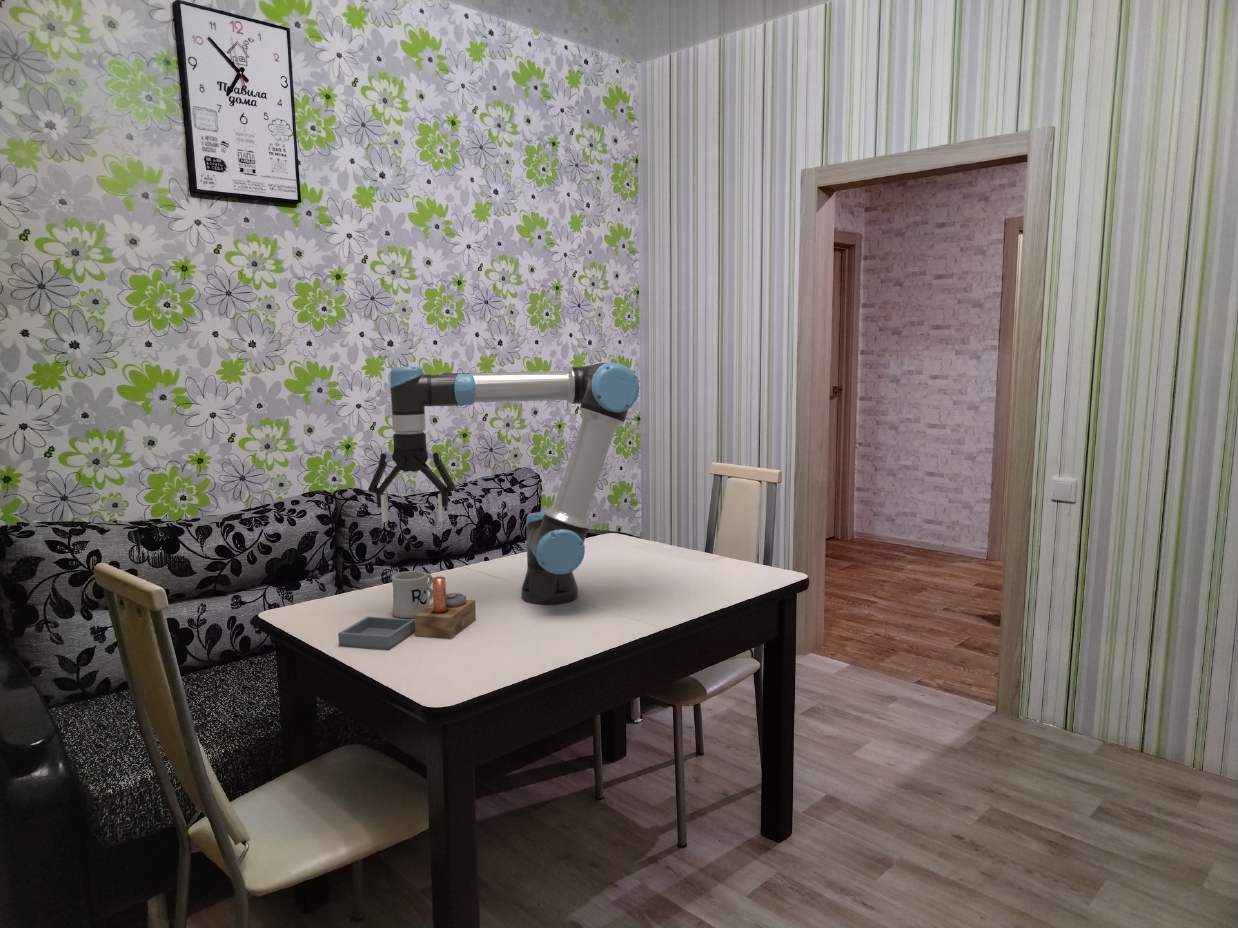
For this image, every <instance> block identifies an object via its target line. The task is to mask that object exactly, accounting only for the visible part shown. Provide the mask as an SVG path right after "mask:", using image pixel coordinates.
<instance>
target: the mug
mask: <svg viewBox="0 0 1238 928" xmlns="http://www.w3.org/2000/svg"><path fill="white" fill-rule="evenodd" d="M390 578H391V583H392V589H393V590H392V591H393V593H392V594H393V599H392V600H393V601H392V615H393V616H395V617H396V618H398V619H415V617H414V615H416V614H417V613H419V612H420V611H422V610H423V609H425V608H427V607H428V606H430V601H431V600H433V588H431V586H432V578H434V577H433V576H432V574H431V573H427V572H425V571H421V570H408V571H401V572H396V573H394V574H393V575H391V577H390ZM428 593H429V595H428Z"/></svg>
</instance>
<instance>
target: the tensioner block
mask: <svg viewBox="0 0 1238 928" xmlns="http://www.w3.org/2000/svg"><path fill="white" fill-rule="evenodd" d="M446 609H447V612H446V613H445V614H434V612H433V603H431V604H429V606H428V607H427V608H425V609H423V610H422V611H420V612H419V613H417V614H416V615H414V617H415V618H414V620H415V633H414V637H419V638H435V639H444V640H445V639H448V640H452V639H453V638H455V637H456V636H457V635H458V634H460V633H461V632H462V631H463V630H465V629H466V628H467V627H469V626H470V625H472V624H473V623H474V622H475V621H476V620H477V619H476V618H477V617H476V616H477V615H476V600H474V599H467V596H466V595H465V594H463V593H454V592H453V593H452V592H450V593H446Z"/></svg>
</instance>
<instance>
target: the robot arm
mask: <svg viewBox="0 0 1238 928" xmlns="http://www.w3.org/2000/svg"><path fill="white" fill-rule="evenodd" d="M423 369H424V368H423V367H421V366H395V367H393V368H392V369H390V374H389V376H390V385H389V387H390V399H391V403H390V404H391V416H392V417H391V419H392V421H391V423H392V424H391V425H392V431H393V432H394V434H393V435H392V441H393V453H388V452H387V451H385V452H382V453H380V456H379V464H378V466H377V468H376V471H375V473H374V475H373V477H372V479H371V481H370V484H369V487H368V492H370V493H373V494H375V495H376V505H377V508H379V509H381V510H380V511H381V523H387V522H388V521H389V506H388V504H389V503H388V501H389V500H388V493H385V491H386V490H387V488H388V487H389V486H390V484H392V482H393V481H394V480H395V478H397V476H398V474H399V473H400V472H401V471H402V472H404V473H408V472H414V473H416V472H419V471H420V472H421V474H423V475H424V476H425V477H426V478H427V479H428V480H429V481H430V483H432V484H433V486H435V488H437V490H438V491H439V493H438V494H437V502H438V503H437V506H438V507H437V508H438V521H439V522H443V521H445V519H446V518H445V515H446V514H445V508H447V507H448V505H449V493H450V492H452V491H454V490H455V489H456V485H455V483H454V481H453V479H452V478H451V476H450V473H449V472H448V470H447V468H446V466H445V464H444V463H443V461H442V456H441V455H442V454H441V452H439V451H435V452H431V453H429V452H428V450H427V435H426V433H425V432H424V431H425V430H426V413H425V411H426V410H425V409H426V408H425V407H452V406H454V407H458V406H459V407H462V406H463V407H465V406H472V405H474V404H475V403H497V402H500V403H501V402H507V403H508V402H542V401H548V402H549V401H550V402H551V401H567V402H568V404H570V405H576V404H577V405H578V404H579V405H580V406H579V410H580V412H581V414H582V420H581V422H580V426H579V429H578V431H577V435H576V438H575V441H574V444H573V447H572V450H571V453H570V456H569V459H568V461H567V465H566V468H565V471H564V474H563V476H562V480H561V483H560V485H559V488H558V492H557V494H556V497H555V500H554V504H553V506H552V508H550V509H547V510H546V511H540V512H539V511H538V512H532V513H529V514H527V516H526V523H525V526H526V561H527V566H526V567H527V568H526V571H525V573H526V574H525V577H524V579H523V583H522V586H521V592H520V593H521V599H522V600H523V601H525V602H528V603H531V604H537V605H538V604H540V605H556V604H562V603H567V602H568V603H569V602H571V601H574V600H575V599H577V598H578V596H579V588H578V584H577V581H576V578H575V575H574V573H573V572H574V571H575V570H576V569H578V567H579V566H580V565H581V564H582V562H583V560H584V557H585V553H586V547H585V541H586V538H587V535H588V531H589V527H590V524H589V523H588V521H587V519H586V518H587V515H588V512H589V509H590V506H591V504H592V500H593V498H594V495H595V490H596V488H597V486H598V482H599V479H600V476H601V473H602V471H603V468H604V465H605V461H606V459H607V456H608V453H609V450H610V446H611V445H612V440H613V437H614V435H615V431H616V428H618V427H620V426H622V425H624V424H625V421H626V418H627V416H628V412H629V410H630V408H632V406H634V404H635V403H636V401H637V400H638V397H639V393H640V384H639V380H638V377H637V376H636V374H635V372H634V371H633V370H632V369H631V368H629V367H628V366H626V365H624V364H621V363H618V362H616V361H615V362H600V363H594V364H589V365H583V366H569V367H568V368H567V369H566V370H555V371H549V370H545V371H544V370H543V371H503V372H502V371H500V372H499V371H498V372H497V371H496V372H456V373H455V372H443V373H440V374H425V372H424V370H423ZM429 459H430V461H431V462H432V463H434V466H435V468H436V470H437V471H438V473H439V474H440V477H441V479H442V480H443V482H442V481H441V479H440V478H439V477H438V476H437V475H436V474H435V472H433V471H432V469H431V468H430V467H429V465H428V464H427V461H428V460H429ZM391 460H392V461H393V463H395V464H396V465H395V466H394V467H393V469H392V471H390V473H388V475H387V477H386V478H385V479H384V481H382V483H381V484H380V481H381V480H382V477H383V475H384V472H385V470H386V468H387V465H388V463H390V462H391ZM444 483H445V484H444ZM379 484H380V485H379ZM378 486H379V487H378Z"/></svg>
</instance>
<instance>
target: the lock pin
mask: <svg viewBox="0 0 1238 928" xmlns="http://www.w3.org/2000/svg"><path fill="white" fill-rule="evenodd" d="M446 583H447V582H446V577H445V576H441V575H440V576H435V577H433V578H432V584H431V586H432V590H433V597H432V604H433V612H434V614H445V613H446V612H447V609H446V594H447V588H446V586H447V584H446Z"/></svg>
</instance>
